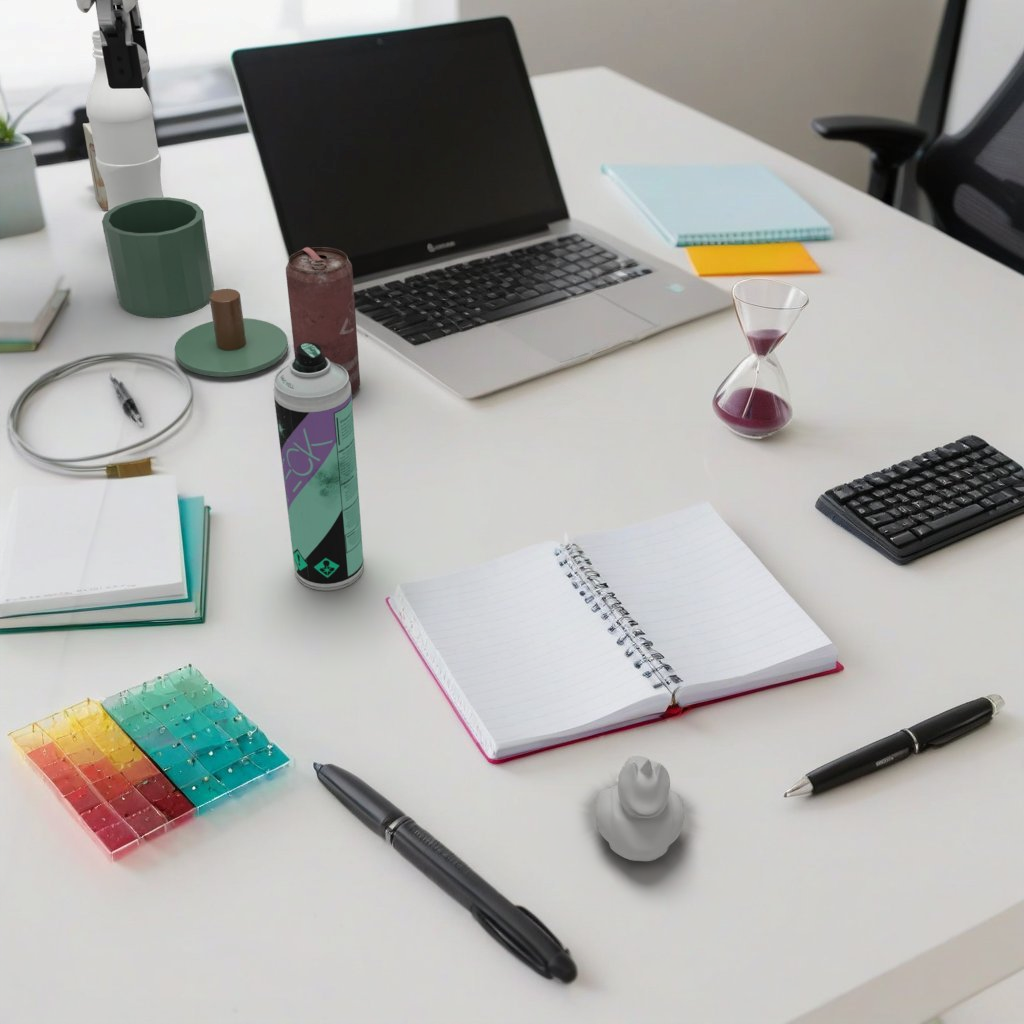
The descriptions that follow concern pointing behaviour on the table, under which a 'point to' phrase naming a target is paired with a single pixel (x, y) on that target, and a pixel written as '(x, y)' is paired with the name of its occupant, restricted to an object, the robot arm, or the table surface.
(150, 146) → the water bottle
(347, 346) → the can
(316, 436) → the spray can
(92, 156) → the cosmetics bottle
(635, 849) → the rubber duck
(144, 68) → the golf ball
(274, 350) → the tin lid
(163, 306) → the tin
